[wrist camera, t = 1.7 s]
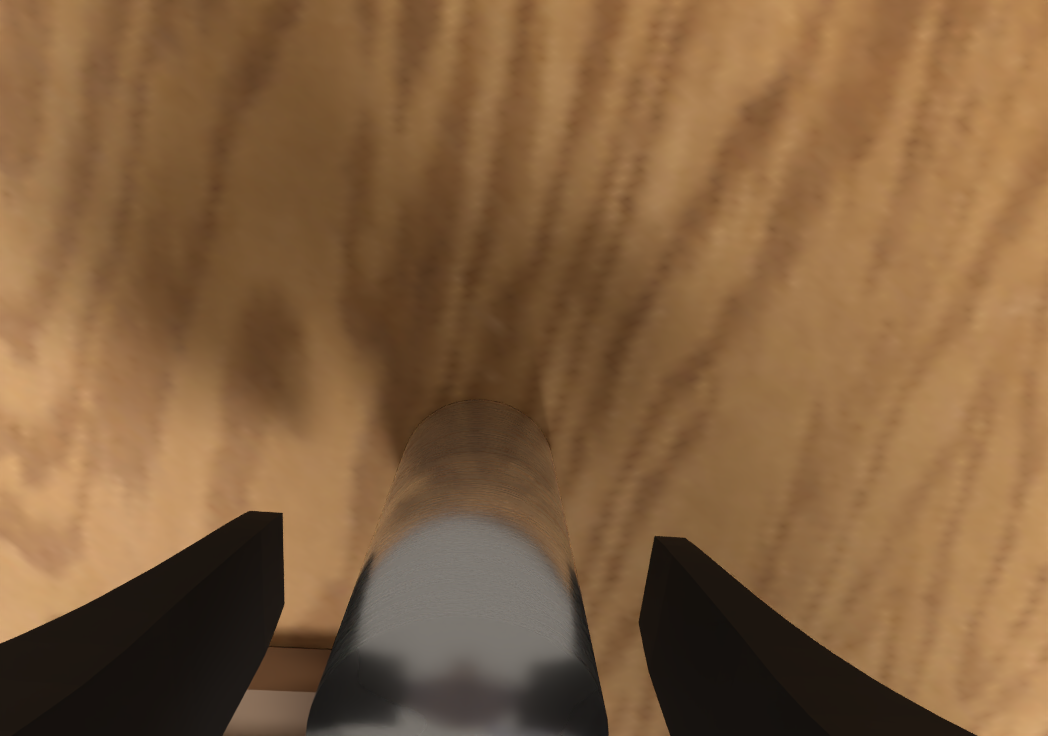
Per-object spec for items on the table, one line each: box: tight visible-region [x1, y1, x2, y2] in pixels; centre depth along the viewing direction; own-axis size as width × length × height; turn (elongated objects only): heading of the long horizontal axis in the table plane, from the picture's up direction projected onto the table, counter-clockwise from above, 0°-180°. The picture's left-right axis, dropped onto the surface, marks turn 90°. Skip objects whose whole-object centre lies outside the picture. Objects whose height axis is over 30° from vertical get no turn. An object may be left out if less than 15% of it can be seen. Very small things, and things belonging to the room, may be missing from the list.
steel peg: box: [306, 400, 608, 736], centre depth 12 cm, size 4×4×8 cm
